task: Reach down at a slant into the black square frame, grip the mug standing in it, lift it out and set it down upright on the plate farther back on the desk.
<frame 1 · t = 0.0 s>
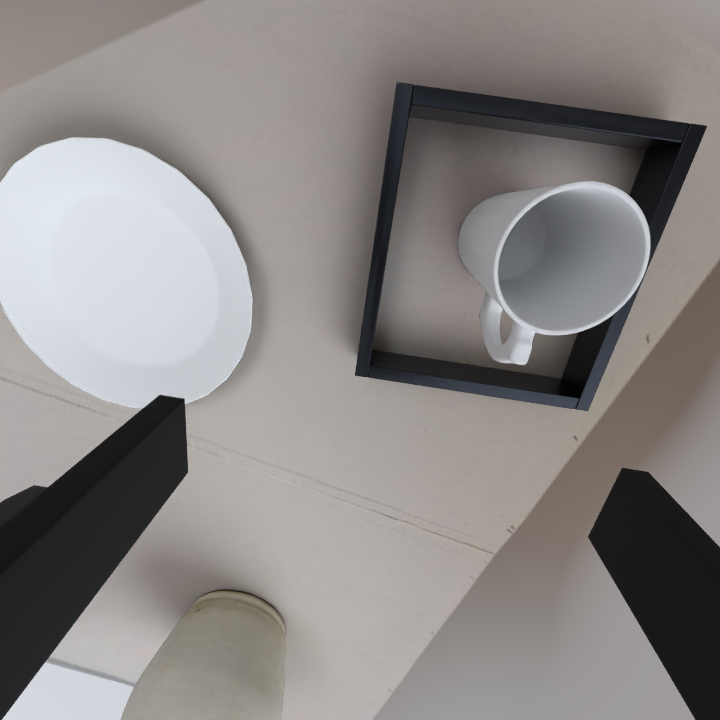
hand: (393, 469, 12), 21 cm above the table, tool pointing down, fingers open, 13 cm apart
black square frame: (492, 261, 29), on the table
jug: (239, 622, 48), on the table
plate: (138, 284, 32), on the table
mug: (492, 261, 29), resting in black square frame
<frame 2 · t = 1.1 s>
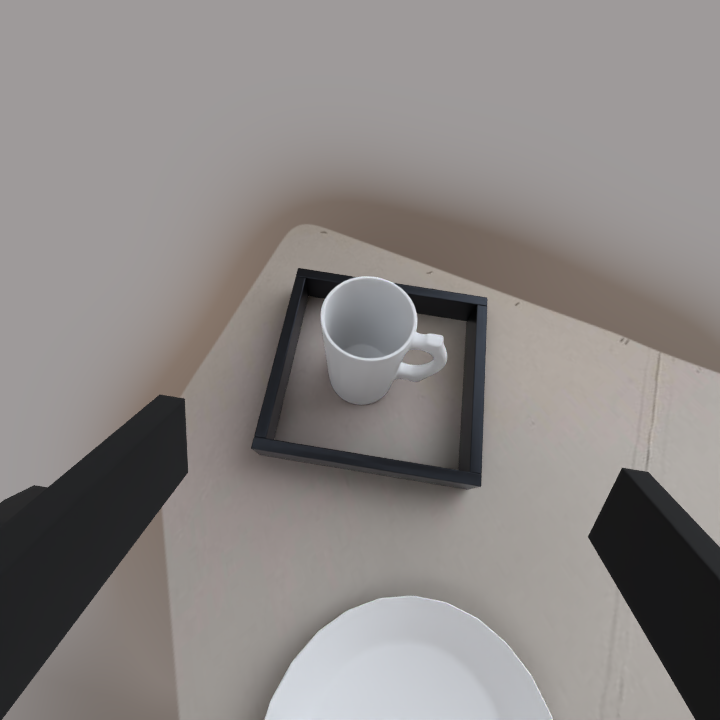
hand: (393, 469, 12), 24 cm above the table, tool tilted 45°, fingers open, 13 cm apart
black square frame: (376, 378, 38), on the table
mug: (376, 379, 38), resting in black square frame
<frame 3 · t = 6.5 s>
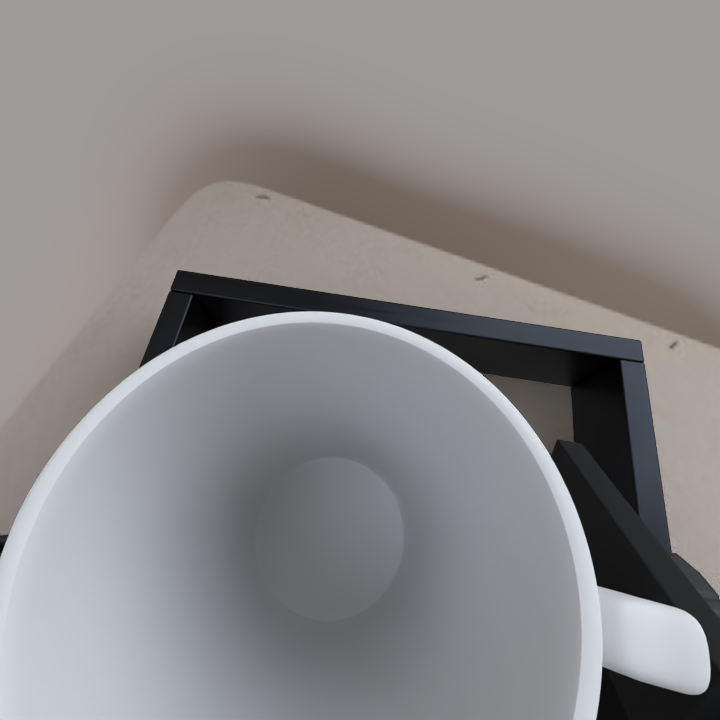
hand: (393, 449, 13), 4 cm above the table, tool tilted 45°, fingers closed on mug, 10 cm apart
black square frame: (370, 541, 15), on the table
mug: (370, 541, 16), resting in black square frame, touching gripper
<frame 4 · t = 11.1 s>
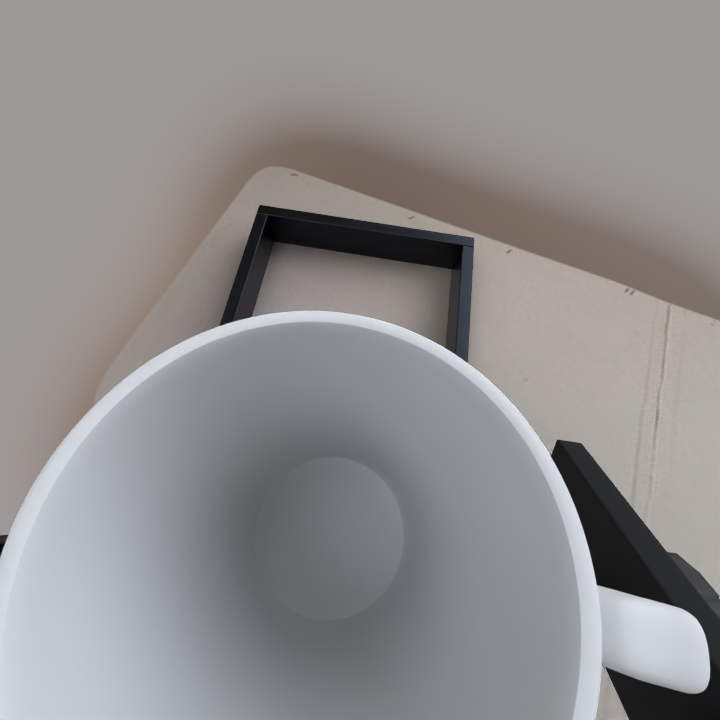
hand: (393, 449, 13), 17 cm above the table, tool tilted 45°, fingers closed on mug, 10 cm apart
black square frame: (348, 330, 33), on the table
mug: (370, 541, 16), point 13 cm above the table, touching gripper
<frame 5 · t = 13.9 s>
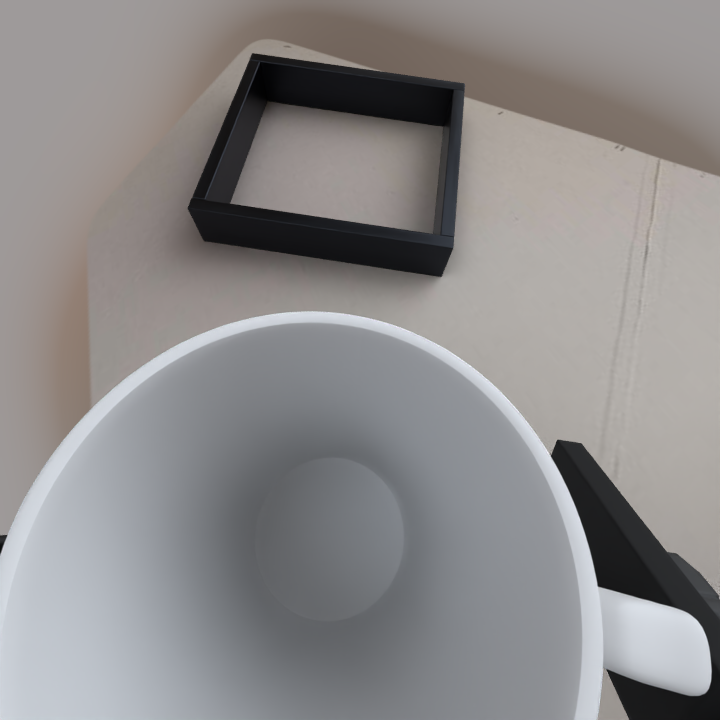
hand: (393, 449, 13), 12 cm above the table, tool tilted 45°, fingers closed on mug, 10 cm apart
black square frame: (341, 175, 34), on the table
mug: (370, 542, 16), point 8 cm above the table, touching gripper
when the fingers open (6 cm above the table, at t = 16.1 s): mug stays where it is, resting on plate.
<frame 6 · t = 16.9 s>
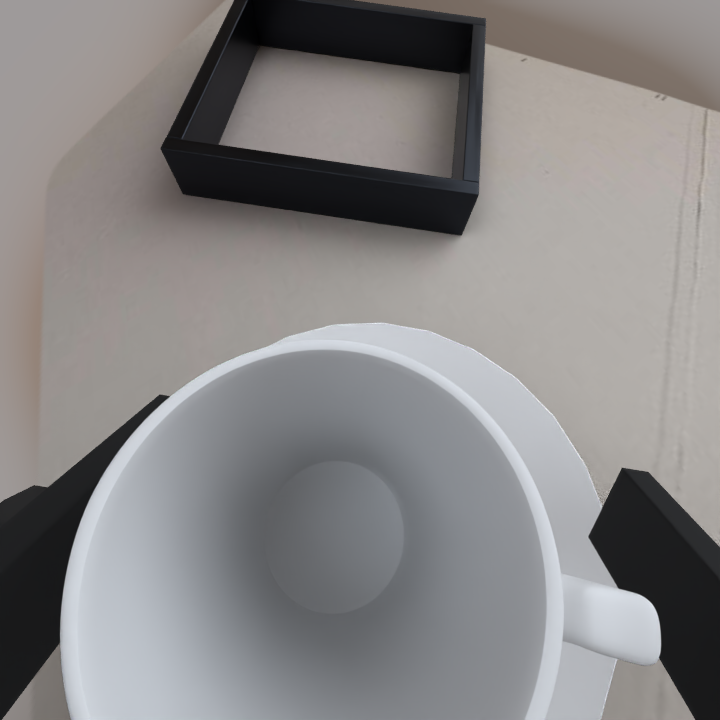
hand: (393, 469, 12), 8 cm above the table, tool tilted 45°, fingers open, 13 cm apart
black square frame: (343, 124, 29), on the table
plate: (369, 537, 19), on the table, touching mug
mug: (372, 540, 17), point 2 cm above the table, touching plate
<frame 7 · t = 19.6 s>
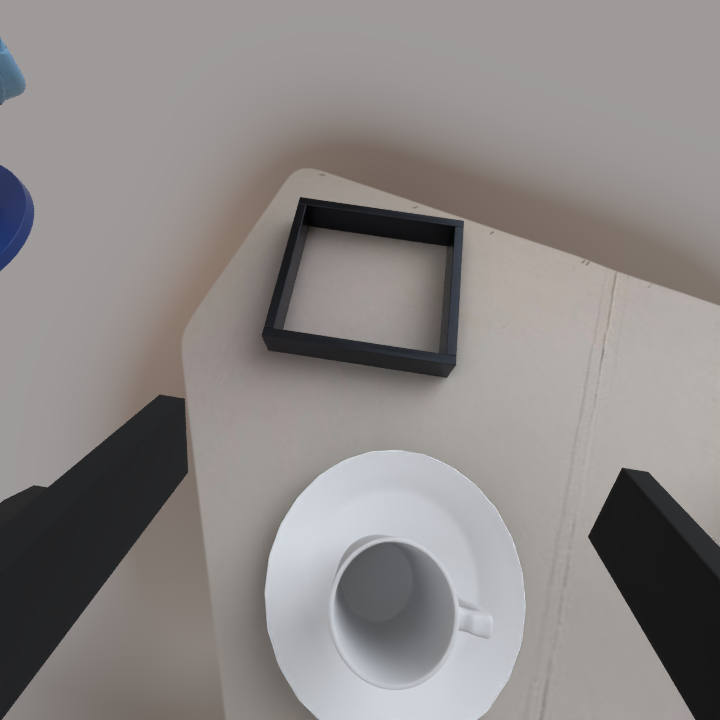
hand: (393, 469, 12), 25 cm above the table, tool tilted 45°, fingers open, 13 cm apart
black square frame: (368, 291, 44), on the table
plate: (392, 577, 33), on the table, touching mug
mug: (395, 581, 31), point 2 cm above the table, touching plate
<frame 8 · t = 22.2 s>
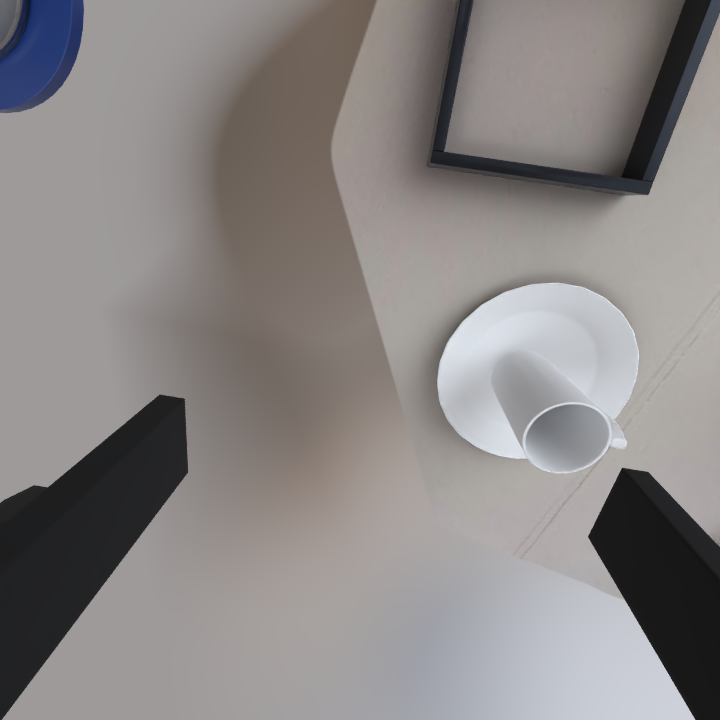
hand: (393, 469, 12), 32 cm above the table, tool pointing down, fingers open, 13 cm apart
black square frame: (557, 66, 33), on the table
plate: (527, 370, 44), on the table, touching mug
mug: (533, 378, 42), point 2 cm above the table, touching plate
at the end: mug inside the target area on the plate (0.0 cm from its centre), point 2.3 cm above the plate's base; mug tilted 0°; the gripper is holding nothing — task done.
